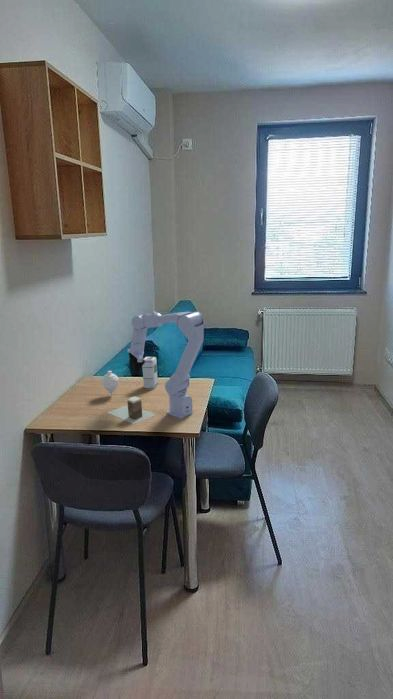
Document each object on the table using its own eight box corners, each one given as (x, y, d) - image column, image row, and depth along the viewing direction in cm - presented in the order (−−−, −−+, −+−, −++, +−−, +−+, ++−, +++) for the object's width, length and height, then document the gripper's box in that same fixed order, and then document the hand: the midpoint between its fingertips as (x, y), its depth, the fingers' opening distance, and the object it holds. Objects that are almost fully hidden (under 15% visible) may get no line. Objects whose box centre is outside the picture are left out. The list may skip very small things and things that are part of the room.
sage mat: (156, 415, 189) (156, 414, 189) (133, 425, 181) (133, 424, 181) (129, 405, 201) (129, 404, 201) (107, 413, 193) (106, 412, 193)
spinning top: (102, 393, 216) (100, 369, 212) (118, 391, 218) (116, 367, 215) (104, 399, 209) (102, 374, 205) (121, 397, 211) (119, 372, 208)
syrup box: (155, 388, 220) (153, 360, 217) (143, 388, 222) (141, 359, 218) (158, 384, 226) (156, 356, 222) (147, 384, 227) (145, 356, 223)
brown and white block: (142, 416, 187) (141, 398, 185) (134, 419, 185) (133, 401, 183) (136, 414, 190) (134, 396, 188) (128, 417, 187) (127, 398, 185)
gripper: (126, 334, 199) (122, 361, 204) (132, 348, 186) (128, 377, 192) (141, 334, 201) (137, 362, 207) (149, 348, 189) (144, 377, 194)
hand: (134, 369), depth 199 cm, fingers open, 7 cm apart
